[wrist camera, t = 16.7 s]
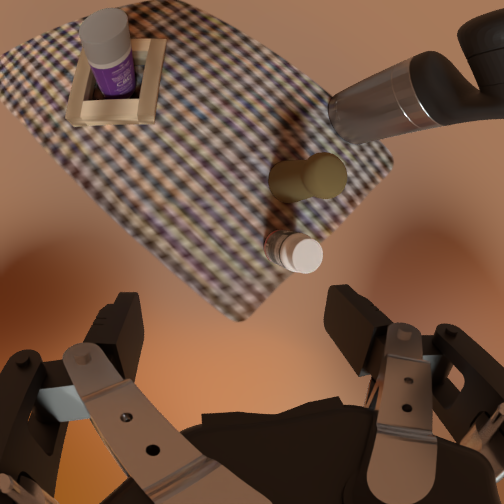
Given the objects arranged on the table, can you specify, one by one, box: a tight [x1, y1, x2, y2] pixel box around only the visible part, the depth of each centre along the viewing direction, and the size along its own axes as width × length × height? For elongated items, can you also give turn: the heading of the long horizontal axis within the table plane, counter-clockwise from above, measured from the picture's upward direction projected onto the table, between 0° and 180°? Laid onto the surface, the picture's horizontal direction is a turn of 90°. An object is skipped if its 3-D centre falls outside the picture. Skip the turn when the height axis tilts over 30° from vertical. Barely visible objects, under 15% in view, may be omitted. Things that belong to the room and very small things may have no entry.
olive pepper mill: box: [268, 152, 347, 203], centre depth 33 cm, size 6×6×11 cm
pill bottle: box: [264, 230, 323, 273], centre depth 36 cm, size 5×5×8 cm
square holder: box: [65, 39, 167, 127], centre depth 27 cm, size 11×11×4 cm
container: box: [79, 8, 136, 100], centre depth 22 cm, size 5×5×15 cm
